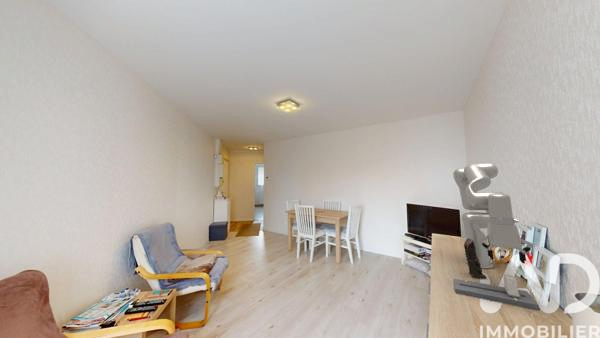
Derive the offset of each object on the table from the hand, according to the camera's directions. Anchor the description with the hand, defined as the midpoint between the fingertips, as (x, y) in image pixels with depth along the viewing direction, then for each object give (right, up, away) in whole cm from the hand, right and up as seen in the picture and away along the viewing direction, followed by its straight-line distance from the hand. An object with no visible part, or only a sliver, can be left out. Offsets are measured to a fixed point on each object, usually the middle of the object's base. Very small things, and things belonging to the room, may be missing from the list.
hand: (506, 260), depth 88 cm
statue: (+4, -18, +20) cm, 27 cm away
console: (-5, -16, +2) cm, 17 cm away
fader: (0, -13, -2) cm, 13 cm away
